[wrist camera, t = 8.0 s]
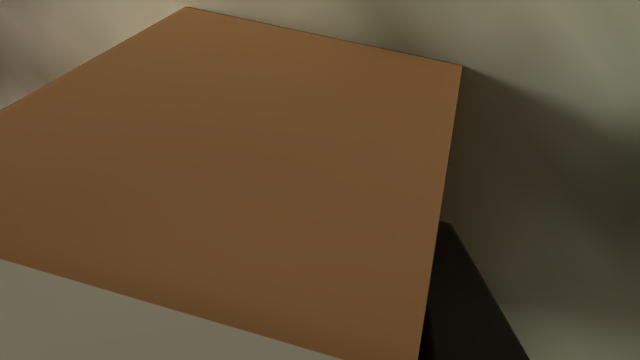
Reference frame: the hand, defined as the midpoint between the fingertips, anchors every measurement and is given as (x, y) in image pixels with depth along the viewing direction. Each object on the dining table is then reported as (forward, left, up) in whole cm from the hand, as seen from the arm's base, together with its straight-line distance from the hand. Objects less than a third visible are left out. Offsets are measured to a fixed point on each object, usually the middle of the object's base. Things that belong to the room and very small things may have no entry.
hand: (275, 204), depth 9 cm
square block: (0, 0, -2) cm, 2 cm away
